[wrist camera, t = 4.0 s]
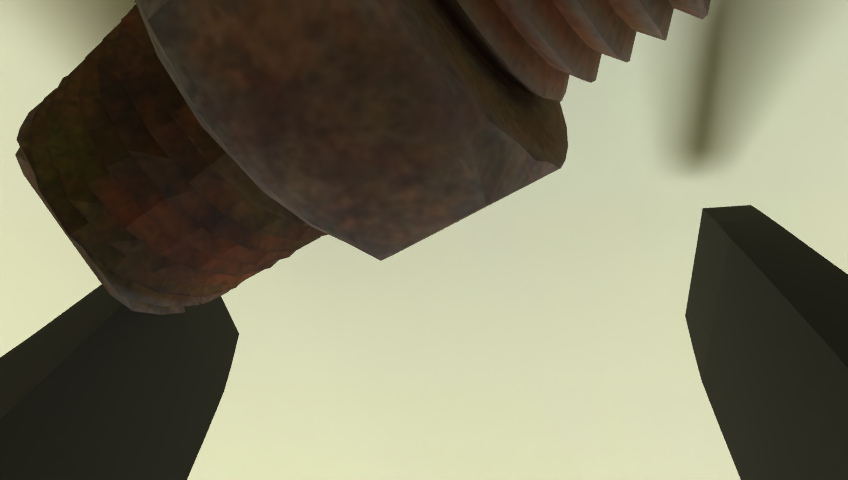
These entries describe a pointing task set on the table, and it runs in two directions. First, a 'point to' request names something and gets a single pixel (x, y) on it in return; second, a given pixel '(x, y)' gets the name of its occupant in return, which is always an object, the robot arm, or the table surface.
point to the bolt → (306, 128)
